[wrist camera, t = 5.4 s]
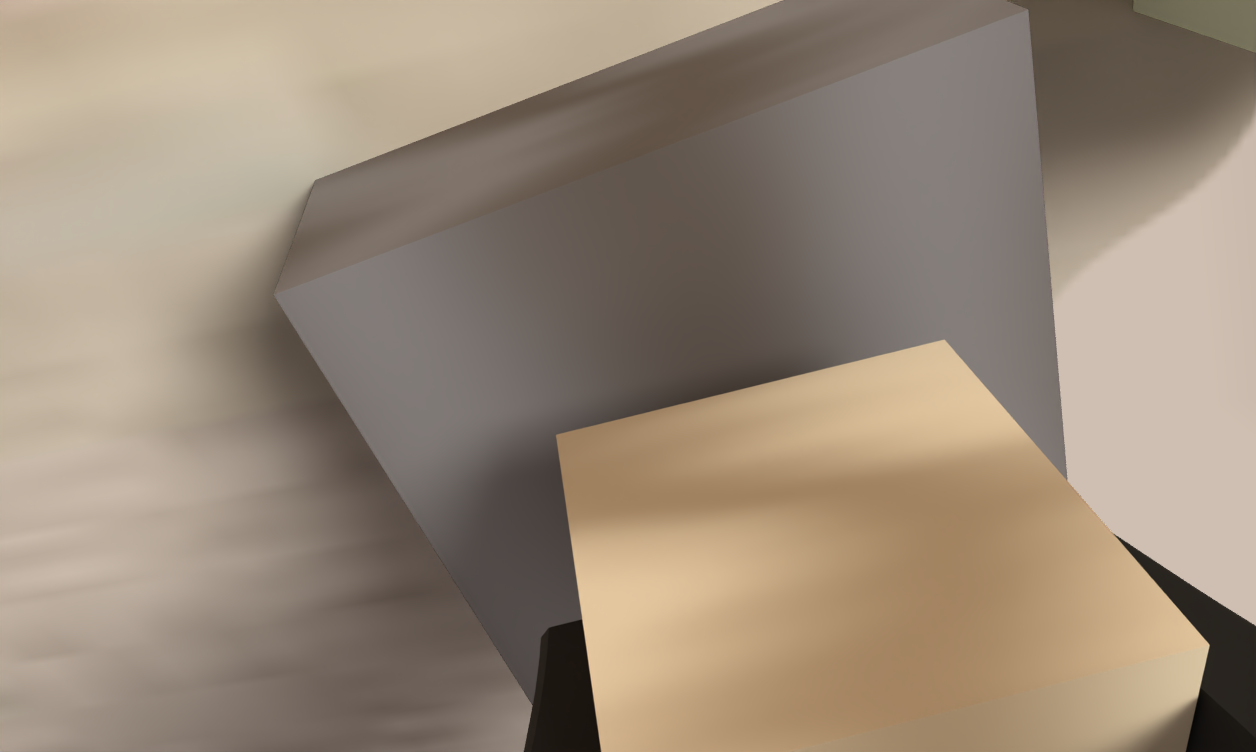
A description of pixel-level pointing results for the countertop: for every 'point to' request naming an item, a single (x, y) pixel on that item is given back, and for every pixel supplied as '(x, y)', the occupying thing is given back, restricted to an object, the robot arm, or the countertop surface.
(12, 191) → the countertop surface
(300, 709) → the countertop surface
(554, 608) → the charcoal slab
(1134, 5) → the sage cube
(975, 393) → the birch cube
